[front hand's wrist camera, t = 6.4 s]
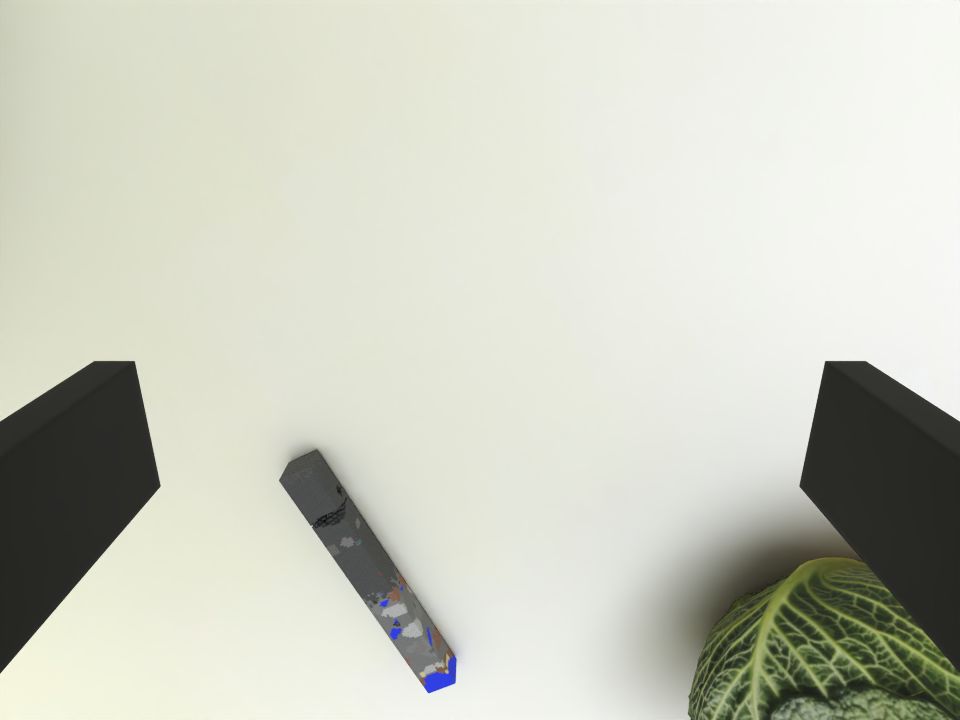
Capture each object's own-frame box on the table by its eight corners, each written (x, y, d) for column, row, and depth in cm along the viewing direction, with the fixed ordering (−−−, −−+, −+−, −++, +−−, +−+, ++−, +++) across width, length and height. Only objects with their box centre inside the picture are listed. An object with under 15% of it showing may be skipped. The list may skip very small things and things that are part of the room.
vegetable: (680, 540, 52) (603, 783, 37) (904, 427, 39) (921, 733, 24) (861, 704, 52) (855, 1012, 37) (1146, 646, 39) (1310, 1086, 24)
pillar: (308, 466, 39) (457, 686, 46) (317, 449, 41) (458, 662, 48) (279, 480, 40) (430, 696, 46) (288, 462, 42) (432, 671, 48)
